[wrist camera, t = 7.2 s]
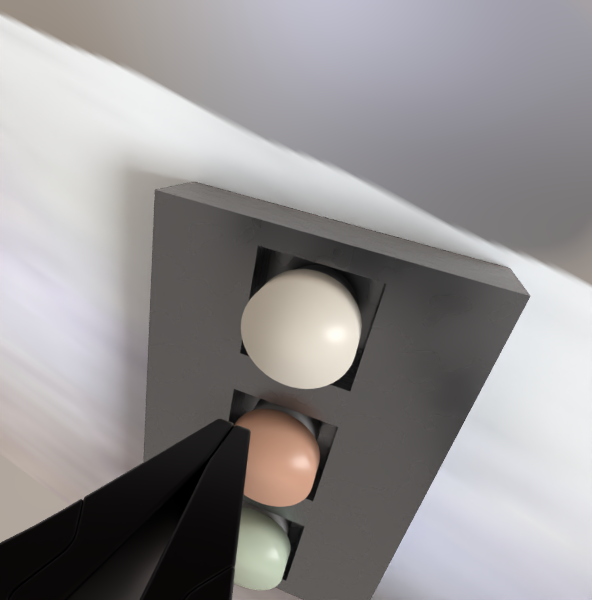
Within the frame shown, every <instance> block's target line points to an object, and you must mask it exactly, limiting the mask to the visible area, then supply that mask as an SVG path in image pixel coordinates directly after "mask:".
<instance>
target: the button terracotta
mask: <svg viewBox="0 0 592 600" xmlns="http://www.w3.org/2000/svg"><path fill="white" fill-rule="evenodd" d="M235 425H239V426H242V427H244V428H247V429H249V430H250V431H251V435H250V444H249V452H248V461H247V470H246V478H245V487H244V495H245V496H247V497H249V498H250V499H252V500H254V501H257V502H259V503H262V504H265V505H269V506H277V507H285V506H291V505H295V504H297V503H299V502H301V501H302V500H304V499H305V498H306V497H307V496H308V494H309V493H310V491H311V489H312V486H313V482H314V479H315V475H316V472H317V469H318V465H319V461H320V450H319V446H318V443H317V440H318V437H319V433H320V423H319V420H318V419H315V418H312V417H310V416H307V415H304V414H301V413H299V412H296V411H293V410H290V409H288V408H285V407H282V406H280V405H277V404H274V403H271V402H269V401H266V400H263V399H260V400H259V401H258V403H257V404H256V406H255V408H254V409H253V410H252V411H249V412H247V413H245V414H244V415H242V416H241V417H240V418H239V419H238V420H237V422H236V423H235ZM235 425H234V426H235Z"/></svg>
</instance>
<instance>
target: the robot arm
mask: <svg viewBox="0 0 592 600" xmlns="http://www.w3.org/2000/svg"><path fill="white" fill-rule="evenodd" d="M250 435H251V431H250V430H249V429H247V428H244V427H242V426H239V425H235V426H234V424H233V423H231V422H229V421H226V420H223V419H217V420H215V421H213V422H212V423H210V424H208V425H207V426H205V427H203V428H202V429H200V430H198V431H196V432H195V433H193V434H191V435H190V436H188V437H186V438H184V439H183V440H181V441H179V442H178V443H176V444H174V445H173V446H171V447H169V448H167V449H166V450H164V451H162V452H161V453H159V454H157V455H155V456H154V457H152V458H150V459H149V460H147V461H145V462H144V463H142V464H140V465H138V466H137V467H135V468H133V469H132V470H130V471H128V472H126V473H125V474H123V475H121V476H120V477H118V478H116V479H115V480H113V481H111V482H109V483H108V484H106V485H104V486H103V487H101V488H99V489H98V490H96V491H94V492H92V493H91V494H89V495H87V496H86V497H84V500H82V499H80V500H78V501H77V502H75V503H73V504H72V505H70V506H68V507H67V508H65V509H63V510H61V511H60V512H58V513H56V514H54V515H52V516H51V517H49V518H47V519H45V520H43V521H42V522H40V523H38V524H36V525H34V526H32V527H30V528H29V529H27V530H25V531H23V532H21V533H19V534H17V535H15V536H13V537H11V538H9V539H7V540H5V541H3V542H1V543H0V600H232V593H233V583H234V575H235V564H236V556H237V547H238V539H239V530H240V521H241V513H242V504H243V495H244V487H245V478H246V470H247V461H248V452H249V444H250Z"/></svg>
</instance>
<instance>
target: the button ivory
mask: <svg viewBox="0 0 592 600" xmlns="http://www.w3.org/2000/svg"><path fill="white" fill-rule="evenodd" d="M361 330H362V319H361V314H360V311H359V308H358V305H357V298H356V295H355V292H354V290H353V288H352V286H351V285H350V283H349V282H348V281H347V280H346V278H345V277H343V276H342V275H341V274H340V273H338V272H337V271H335V270H333V269H331V268H328V267H325V266H320V265H308V266H303V267H300V268H298V269H294V270H289V271H285V272H282V273H280V274H278V275H276V276H275V277H273V278H272V279H270V280H269V281H268V282H267V283H266V284H265V285H264V286H263V287H262V288H261V289H260V290H259V291H258V292H257V293H256V294H255V295H254V296H253V297H252V298H251V299H250V300H249V302H248V304H247V305H246V307H245V309H244V312H243V315H242V319H241V335H242V340H243V343H244V346H245V349H246V351H247V353H248V355H249V356H250V358H251V359H252V361H253V362H254V363H255V365H256V366H257V367H258V368H259V369H260V370H261V371H262V372H264V373H265V374H266V375H267V376H269V377H270V378H272V379H273V380H275V381H277V382H279V383H282V384H284V385H287V386H290V387H294V388H300V389H314V388H320V387H324V386H327V385H329V384H331V383H334V382H335V381H337V380H338V379H340V378H341V377H342V376H343V375H344V374H345V373H346V372H347V371H348V369H349V368H350V366H351V365H352V363H353V360H354V358H355V354H356V351H357V347H358V344H359V340H360V336H361Z"/></svg>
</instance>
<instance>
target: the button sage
mask: <svg viewBox="0 0 592 600" xmlns="http://www.w3.org/2000/svg"><path fill="white" fill-rule="evenodd" d="M291 523H292V521H290V520H288V519H285V518H283V517H280V516H278V515H276V514H273V513H271V512H268V511H266V510H264V509H261V508H259V507H256V506H254V505H252V504H249V503H247V502H245V501H243V504H242V513H241V521H240V530H239V539H238V547H237V556H236V564H235V575H234V583H235V584H237V585H239V586H242V587H245V588H248V589H252V590H269V589H272V588H274V587H276V586H277V585H278V584H279V583H280V582H281V580H282V577H283V574H284V570H285V567H286V564H287V560H288V557H289V554H290V550H291V545H290V541H289V538H288V533H289V529H290V526H291Z"/></svg>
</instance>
